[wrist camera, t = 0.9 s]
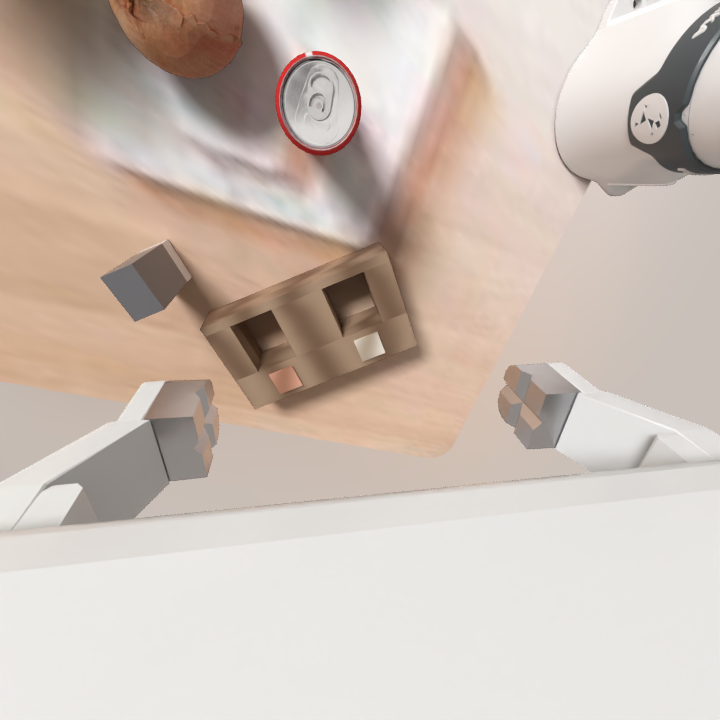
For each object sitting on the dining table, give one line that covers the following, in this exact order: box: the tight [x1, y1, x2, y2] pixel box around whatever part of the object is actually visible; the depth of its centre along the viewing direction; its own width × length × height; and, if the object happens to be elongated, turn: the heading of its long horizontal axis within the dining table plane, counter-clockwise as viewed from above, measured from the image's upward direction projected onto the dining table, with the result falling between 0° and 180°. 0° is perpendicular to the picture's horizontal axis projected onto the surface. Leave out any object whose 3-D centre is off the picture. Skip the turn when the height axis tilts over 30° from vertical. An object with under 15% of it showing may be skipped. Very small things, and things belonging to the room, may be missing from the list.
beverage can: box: [276, 51, 361, 155], centre depth 29 cm, size 6×6×15 cm
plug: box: [100, 240, 192, 321], centre depth 36 cm, size 3×4×10 cm, turn 20°
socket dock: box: [200, 242, 417, 409], centre depth 44 cm, size 22×12×5 cm, turn 110°
